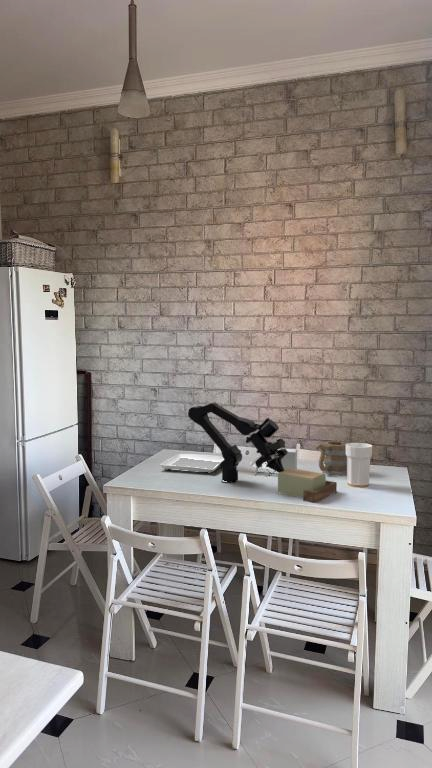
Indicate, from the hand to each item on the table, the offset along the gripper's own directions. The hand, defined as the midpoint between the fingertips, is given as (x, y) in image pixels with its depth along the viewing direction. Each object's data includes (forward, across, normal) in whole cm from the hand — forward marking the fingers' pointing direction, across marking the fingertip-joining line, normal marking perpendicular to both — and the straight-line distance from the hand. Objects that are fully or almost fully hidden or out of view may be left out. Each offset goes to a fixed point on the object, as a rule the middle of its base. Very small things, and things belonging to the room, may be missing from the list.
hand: (284, 473), depth 235 cm
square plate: (-34, +10, +44) cm, 56 cm away
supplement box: (-1, +19, +11) cm, 22 cm away
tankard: (+8, +38, +2) cm, 38 cm away
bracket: (+16, 0, -7) cm, 18 cm away
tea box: (+11, 0, -1) cm, 11 cm away
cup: (+20, +26, -11) cm, 35 cm away
